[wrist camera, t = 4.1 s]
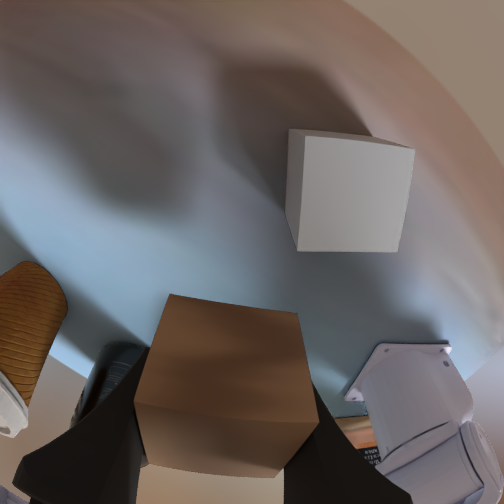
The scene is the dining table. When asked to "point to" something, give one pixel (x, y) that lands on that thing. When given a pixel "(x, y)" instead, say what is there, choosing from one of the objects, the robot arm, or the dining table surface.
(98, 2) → the dining table surface
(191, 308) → the walnut block
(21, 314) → the disposable coffee cup
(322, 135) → the light grey block
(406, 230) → the dining table surface
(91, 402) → the supplement bottle
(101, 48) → the dining table surface
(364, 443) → the whiskey bottle
